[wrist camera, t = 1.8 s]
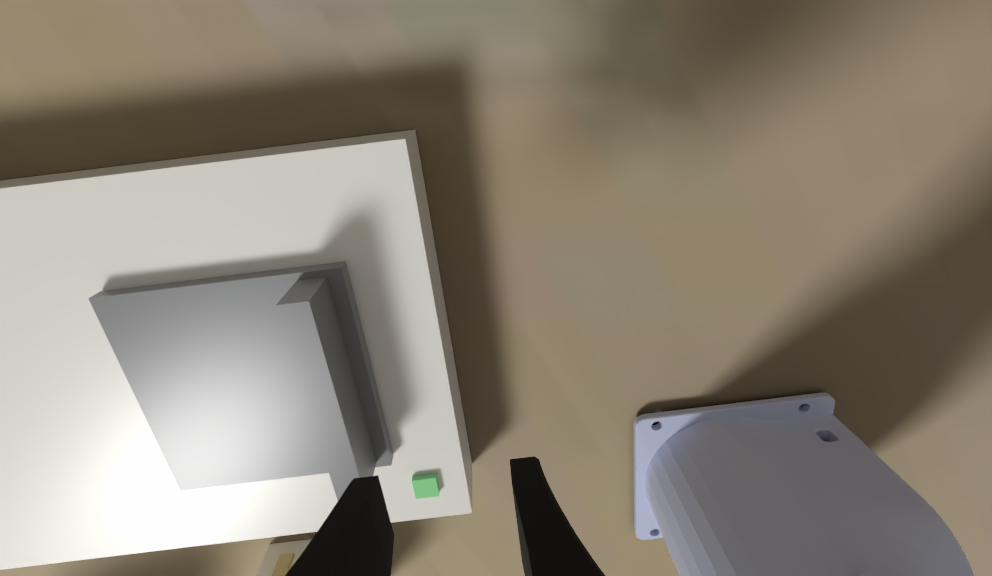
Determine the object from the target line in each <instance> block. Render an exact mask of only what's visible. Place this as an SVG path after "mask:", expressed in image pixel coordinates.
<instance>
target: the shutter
mask: <svg viewBox="0 0 992 576" xmlns="http://www.w3.org/2000/svg"><path fill="white" fill-rule="evenodd" d="M88 299H89V301H90V303H91V305H92V307H93V309H94V311H95V314H96V316H97V318H98V320H99V322H100V324H101V326H102V328H103V330H104V332H105V334H106V336H107V339H108V341H109V343H110V345H111V347H112V349H113V351H114V353H115V355H116V357H117V359H118V361H119V364H120V366H121V368H122V370H123V372H124V374H125V376H126V378H127V380H128V382H129V384H130V386H131V389H132V391H133V393H134V395H135V397H136V399H137V401H138V403H139V405H140V407H141V409H142V411H143V414H144V416H145V418H146V420H147V422H148V424H149V426H150V428H151V430H152V432H153V434H154V436H155V439H156V441H157V443H158V445H159V447H160V449H161V451H162V453H163V455H164V457H165V459H166V461H167V464H168V466H169V468H170V470H171V472H172V474H173V476H174V478H175V480H176V482H177V484H178V486H179V489H180V491H182V490H191V489H199V488H207V487H216V486H224V485H232V484H241V483H249V482H257V481H265V480H274V479H282V478H290V477H299V476H307V475H315V474H323V473H329V475H330V478H331V481H332V484H333V487H334V490H335V493H336V497H337V500H339V499H340V497H341V496H342V494H343V493H344V491H345V490H346V488H347V487H348V485H349V484H350V482H351V481H352V480H353V479H354V478H361V477H369V476H373V474H374V470H375V467H382V466H390V465H392V460H393V456H394V454H393V450H392V446H391V442H390V438H389V434H388V430H387V426H386V422H385V418H384V414H383V410H382V406H381V402H380V398H379V394H378V390H377V385H376V381H375V377H374V373H373V369H372V365H371V361H370V357H369V353H368V349H367V345H366V341H365V337H364V333H363V329H362V325H361V321H360V317H359V313H358V309H357V305H356V301H355V297H354V292H353V288H352V284H351V280H350V276H349V272H348V268H347V264H346V261H344V262H336V263H328V264H320V265H312V266H303V267H295V268H287V269H279V270H271V271H262V272H254V273H246V274H238V275H230V276H221V277H213V278H205V279H197V280H189V281H180V282H172V283H164V284H156V285H148V286H139V287H131V288H123V289H115V290H107V291H100V292H98V293H97V294H95V295H93V296H91V297H90V298H88Z"/></svg>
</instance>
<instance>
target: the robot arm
mask: <svg viewBox="0 0 992 576" xmlns="http://www.w3.org/2000/svg"><path fill="white" fill-rule="evenodd" d="M802 404H804V405H803V406H802V407H800V406H801V405H802ZM834 407H835V400H834V398H833V397H832V396H830V395H829V394H827V393H815V394H806V395H798V396H790V397H781V398H773V399H765V400H757V401H748V402H740V403H732V404H724V405H715V406H707V407H699V408H690V409H682V410H674V411H666V412H657V413H649V414H643V415H640V416H638V417H637V418H636V419H635V421H634V530H635V533H636V536H637V537H638V538H639V539H641V540H648V539H657V538H664V540H665V543H666V545H667V548H668V550H669V552H670V555H671V557H672V560H673V562H674V564H675V567H676V569H677V572H678V574H679V576H974V575H973V572H972V569H971V567H970V564H969V562H968V560H967V558H966V556H965V554H964V552H963V550H962V549H961V547H960V545H959V543H958V542H957V540H956V538H955V537H954V535H953V533H952V532H951V531H950V529H949V528H948V526H947V525H946V523H945V522H944V521H943V520H942V518H941V517H940V516H939V515H938V513H937V512H936V511H935V510H934V509H933V508H932V507H931V506H930V505H929V504H928V503H927V502H926V501H925V500H924V499H923V498H922V497H921V496H920V495H919V494H918V493H917V492H916V491H915V490H914V489H912V488H911V487H910V486H909V485H908V484H907V483H906V482H905V481H904V480H903V479H902V478H901V477H900V476H899V475H897V474H896V473H895V472H894V471H893V470H892V469H891V468H890V467H889V466H888V465H887V464H886V463H885V462H884V461H882V460H881V459H880V458H879V457H878V456H877V455H876V454H875V453H874V452H873V451H872V450H871V449H870V448H869V447H867V446H866V445H865V444H864V443H863V442H862V441H861V440H860V439H859V438H858V437H857V436H856V435H855V434H854V433H852V432H851V431H850V430H849V429H848V428H847V427H846V426H845V425H844V424H843V423H842V422H841V421H840V420H839V419H837V418H836V417H835V416H834V415H833V413H834ZM657 421H658V422H659V423H658V424H656V425H652V424H653V423H654V422H657ZM510 466H511V477H512V487H513V494H514V502H515V509H516V517H517V525H518V532H519V540H520V547H521V555H522V563H523V568H524V573H525V576H605V575H604V574H603V572H602V571H601V570H600V568H599V567H598V566H597V564H596V563H595V561H594V560H593V559H592V557H591V556H590V554H589V553H588V551H587V550H586V548H585V547H584V545H583V544H582V542H581V541H580V539H579V538H578V536H577V535H576V533H575V532H574V530H573V528H572V527H571V525H570V523H569V522H568V520H567V518H566V517H565V515H564V513H563V511H562V510H561V508H560V506H559V504H558V503H557V501H556V499H555V497H554V495H553V493H552V491H551V489H550V487H549V485H548V483H547V480H546V478H545V476H544V473H543V470H542V468H541V465H540V461H539V459H537V458H536V457H527V458H518V459H510ZM653 529H654V530H653ZM393 542H394V533H393V529H392V525H391V522H390V518H389V514H388V511H387V507H386V503H385V499H384V496H383V492H382V488H381V485H380V481H379V477H378V475H377V476H369V477H361V478H354V479H353V480H352V481H351V482H350V484H349V485H348V487H347V488H346V490H345V491H344V493H343V494H342V496H341V497H340V499H339V500H338V502H337V503H336V505H335V506H334V508H333V509H332V511H331V512H330V514H329V515H328V517H327V518H326V520H325V521H324V523H323V524H322V526H321V527H320V529H319V530H318V531H317V533H316V534H315V536H314V537H313V538H312V540H311V541H310V543H309V544H308V545H307V547H306V548H305V550H304V551H303V552H302V554H301V555H300V557H299V558H298V559H297V561H296V562H295V563H294V564H293V566H292V567H291V568H290V570H289V571H288V572H287V574H286V575H285V576H390V575H391V565H392V554H393Z"/></svg>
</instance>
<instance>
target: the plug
mask: <svg viewBox="0 0 992 576" xmlns="http://www.w3.org/2000/svg"><path fill="white" fill-rule="evenodd" d="M311 540H312V539H308V540H300V541H292V542H283V543H275V544H270V545H269V547H268V549H267V552H266V554H265V556H264V559H263V561H262V563H261V566H260V568H259V570H258V572H257V575H256V576H285V575H286V574H287V572H288V571H289V570H290V568H291V567H292V566H293V564H294V563H295V562H296V561H297V559H298V558H299V557H300V555H301V554H302V552H303V551H304V550H305V548H306V547H307V545H308V544H309V543H310V541H311Z"/></svg>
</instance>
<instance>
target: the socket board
mask: <svg viewBox="0 0 992 576" xmlns="http://www.w3.org/2000/svg"><path fill="white" fill-rule="evenodd" d="M344 261H346V264H347V268H348V272H349V276H350V280H351V284H352V288H353V292H354V297H355V301H356V305H357V309H358V313H359V317H360V321H361V325H362V329H363V333H364V337H365V341H366V345H367V349H368V353H369V357H370V361H371V365H372V369H373V373H374V377H375V381H376V385H377V390H378V394H379V398H380V402H381V406H382V410H383V414H384V418H385V422H386V426H387V430H388V434H389V438H390V442H391V446H392V450H393V454H394V456H393V460H392V465H390V466H382V467H375V470H374V474H373V476H377V475H378V477H379V481H380V485H381V488H382V492H383V496H384V499H385V503H386V507H387V511H388V514H389V518H390V522H391V523H393V522H402V521H410V520H418V519H427V518H435V517H443V516H452V515H460V514H468V513H472V460H471V455H470V449H469V443H468V437H467V431H466V425H465V419H464V413H463V407H462V402H461V396H460V390H459V384H458V378H457V372H456V366H455V360H454V354H453V348H452V343H451V337H450V331H449V325H448V319H447V313H446V307H445V301H444V295H443V289H442V284H441V278H440V272H439V266H438V260H437V254H436V248H435V242H434V236H433V231H432V225H431V219H430V213H429V207H428V201H427V195H426V189H425V183H424V177H423V172H422V166H421V160H420V154H419V148H418V142H417V136H416V130H408V131H400V132H392V133H383V134H375V135H367V136H359V137H351V138H343V139H335V140H326V141H318V142H310V143H302V144H294V145H286V146H278V147H269V148H261V149H253V150H245V151H237V152H229V153H221V154H212V155H204V156H196V157H188V158H180V159H172V160H164V161H155V162H147V163H139V164H131V165H123V166H115V167H107V168H98V169H90V170H82V171H74V172H66V173H58V174H50V175H41V176H33V177H25V178H17V179H9V180H1V181H0V569H1V570H2V569H11V568H19V567H27V566H35V565H44V564H52V563H60V562H69V561H77V560H85V559H94V558H102V557H110V556H119V555H127V554H135V553H144V552H152V551H160V550H169V549H177V548H185V547H194V546H202V545H210V544H219V543H227V542H235V541H243V540H252V539H260V538H268V537H277V536H285V535H293V534H302V533H310V532H317V531H318V530H319V529H320V527H321V526H322V524H323V523H324V521H325V520H326V518H327V517H328V515H329V514H330V512H331V511H332V509H333V508H334V506H335V505H336V503H337V502H338V500H337V497H336V493H335V490H334V487H333V484H332V481H331V478H330V475H329V473H323V474H315V475H307V476H299V477H290V478H282V479H274V480H265V481H257V482H249V483H241V484H232V485H224V486H216V487H207V488H199V489H191V490H182V491H180V489H179V486H178V484H177V482H176V480H175V478H174V476H173V474H172V472H171V470H170V468H169V466H168V464H167V461H166V459H165V457H164V455H163V453H162V451H161V449H160V447H159V445H158V443H157V441H156V439H155V436H154V434H153V432H152V430H151V428H150V426H149V424H148V422H147V420H146V418H145V416H144V414H143V411H142V409H141V407H140V405H139V403H138V401H137V399H136V397H135V395H134V393H133V391H132V389H131V386H130V384H129V382H128V380H127V378H126V376H125V374H124V372H123V370H122V368H121V366H120V364H119V361H118V359H117V357H116V355H115V353H114V351H113V349H112V347H111V345H110V343H109V341H108V339H107V336H106V334H105V332H104V330H103V328H102V326H101V324H100V322H99V320H98V318H97V316H96V314H95V311H94V309H93V307H92V305H91V303H90V301H89V299H88V298H90V297H91V296H93V295H95V294H97V293H98V292H100V291H107V290H115V289H123V288H131V287H139V286H148V285H156V284H164V283H172V282H180V281H189V280H197V279H205V278H213V277H221V276H230V275H238V274H246V273H254V272H262V271H271V270H279V269H287V268H295V267H303V266H312V265H320V264H328V263H336V262H344Z"/></svg>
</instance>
